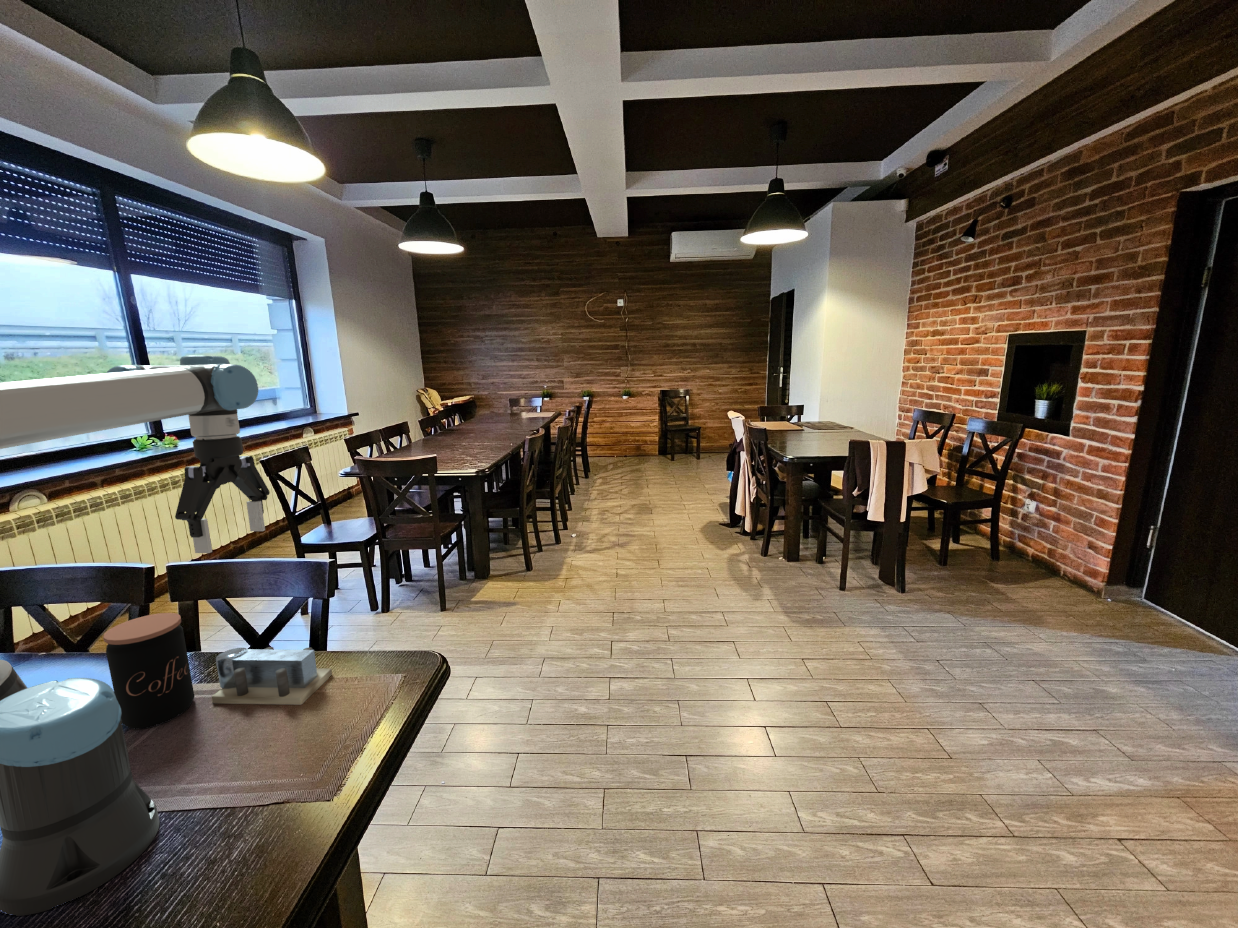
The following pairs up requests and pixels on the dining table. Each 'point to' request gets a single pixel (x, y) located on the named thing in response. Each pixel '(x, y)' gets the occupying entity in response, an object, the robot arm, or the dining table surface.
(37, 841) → the robot arm
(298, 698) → the peg rack
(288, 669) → the bevelled metal block
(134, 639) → the coffee jar
